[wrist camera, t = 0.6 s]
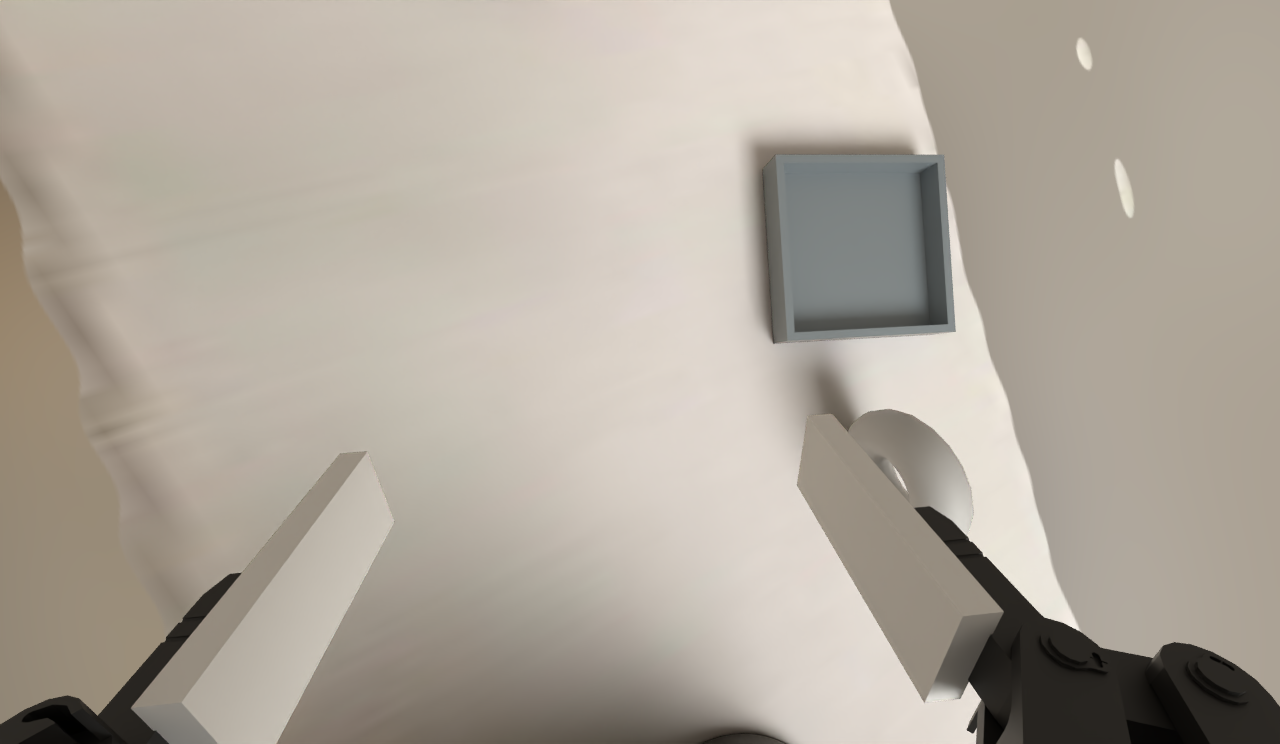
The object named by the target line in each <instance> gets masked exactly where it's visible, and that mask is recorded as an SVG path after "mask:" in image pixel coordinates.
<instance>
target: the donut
mask: <svg viewBox="0 0 1280 744" xmlns="http://www.w3.org/2000/svg"><path fill="white" fill-rule="evenodd" d="M848 433H849V434H850V435H851V436H852V437H853V439H854V440H855V441H856V442H857V443H858V444H859V446H860V447H861V448H862V449H863V450H864V451H865V452H866V454H867V455H868V456H869V457H870V458H871V459H872V460H873V462H874V463H875V464H876V465H877V466H878V467H879V469H880V470H881V471H882V472H883V473H884V474H885V475H886V477H887V478H888V479H889V480H890V481H891V482H892V484H893V485H894V486H895V487H896V488H897V489H898V490H899V492H900V493H901V494H902V495H903V496H904V497H905V498H906V500H907V501H908V502H909V503H910V504H911V505H912V507H913V508H916V507H927V506H930V507H932V508H934V509H935V510H937V511H938V512H940V513H941V514H943V515H944V516H946V517H947V518H949V519H950V520H952V521H953V522H954V523H955V524H956V525H957V526H958V527H959V528H960V529H961V531H962V532H963V533H964V534H965V535H966V536H967V534H968V533H969V531H970V527H971V523H972V519H973V515H974V510H973V501H972V492H971V487H970V484H969V482H968V479H967V476H966V474H965V471H964V469H963V466H962V465H961V463H960V462H959V460H958V458H957V457H956V455H955V454H954V452H953V451H952V449H951V448H950V446H949V445H948V444H947V443H946V442H945V441H944V440H943V439H942V438H941V437H940V436H939V435H938V434H937V433H936V432H935V430H934V429H932V428H931V427H929V426H928V425H926V424H925V423H923V422H922V421H920V420H919V419H917V418H916V417H914V416H913V415H910V414H906V413H903V412H900V411H896V410H892V409H885V410H877V411H870V412H867V413H865V414H863V415H862V416H861V417H860V418H858V419H857V420H856V421H855V422H853V424H852V425H851V426H850V428H849V430H848ZM893 466H894V467H895V468H896V470H897V471H898V472H899V474H900V476H901V477H902V479H903V481H904V483H905V486H906V488H907V491H908V492H907V491H906V490H905V489H904V487H903V486H902V484H901V483H900V481H899V479H898V477H897V475H896V472H895V470H894V467H893Z"/></svg>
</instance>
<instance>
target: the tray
mask: <svg viewBox="0 0 1280 744" xmlns="http://www.w3.org/2000/svg"><path fill="white" fill-rule="evenodd" d="M763 184H764V200H765V215H766V231H767V247H768V262H769V278H770V294H771V309H772V325H773V341H774V343H790V342H808V341H826V340H844V339H861V338H879V337H897V336H915V335H932V334H940V333H949V332H956V330H955V315H954V300H953V284H952V269H951V254H950V238H949V223H948V208H947V193H946V177H945V162H944V155H775V156H774V157H773V158H772V159H771V160H770V162H769V163H768V164H767V165H766V166H765V167H764V168H763Z"/></svg>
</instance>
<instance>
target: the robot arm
mask: <svg viewBox="0 0 1280 744" xmlns="http://www.w3.org/2000/svg"><path fill="white" fill-rule="evenodd" d="M797 486H798V488H799V490H800V491H801V493H802V495H803V496H804V498H805V500H806V501H807V503H808V505H809V507H810V508H811V510H812V512H813V513H814V515H815V517H816V519H817V520H818V522H819V524H820V525H821V527H822V529H823V531H824V532H825V534H826V536H827V537H828V539H829V541H830V542H831V544H832V546H833V548H834V549H835V551H836V553H837V554H838V556H839V558H840V560H841V561H842V563H843V565H844V566H845V568H846V570H847V571H848V573H849V575H850V577H851V578H852V580H853V582H854V583H855V585H856V587H857V589H858V590H859V592H860V594H861V595H862V597H863V599H864V601H865V602H866V604H867V606H868V607H869V609H870V611H871V612H872V614H873V616H874V618H875V619H876V621H877V623H878V624H879V626H880V628H881V630H882V631H883V633H884V635H885V636H886V638H887V640H888V641H889V643H890V645H891V647H892V648H893V650H894V652H895V653H896V655H897V657H898V659H899V660H900V662H901V664H902V665H903V667H904V669H905V671H906V672H907V674H908V676H909V677H910V679H911V681H912V682H913V684H914V686H915V688H916V689H917V691H918V693H919V694H920V696H921V698H922V700H923V701H924V703H929V702H937V701H946V700H954V699H960V698H961V696H962V694H963V692H964V690H965V688H966V686H967V684H968V682H970V684H971V685H972V686H973V688H974V689H975V691H976V692H977V694H978V695H979V697H980V698H981V699H982V700H981V702H980V703H979V705H978V707H977V709H976V711H975V713H974V715H973V716H972V718H971V720H970V722H969V725H968V728H967V731H969V732H971V733H974V732H975V730H976V728H977V738H976V744H1280V706H1279V705H1278V704H1277V703H1276V701H1275V700H1274V699H1273V697H1272V696H1271V695H1270V694H1269V693H1268V692H1267V691H1266V690H1265V689H1264V688H1263V687H1262V686H1261V685H1260V684H1259V682H1258V681H1257V680H1255V679H1254V678H1253V677H1252V676H1250V675H1249V674H1247V673H1246V672H1245V671H1243V670H1242V669H1241V668H1239V667H1238V666H1236V665H1235V664H1233V663H1232V662H1230V661H1228V660H1226V659H1224V658H1222V657H1221V656H1219V655H1217V654H1215V653H1213V652H1211V651H1208V650H1205V649H1202V648H1200V647H1197V646H1194V645H1191V644H1183V643H1176V642H1174V643H1171V644H1167V645H1164V646H1163V647H1162V648H1161V649H1160V650H1159V652H1158V653H1157V654H1156V655H1155V657H1154V658H1150V657H1145V656H1140V655H1134V654H1129V653H1124V652H1118V651H1114V650H1109V649H1103V648H1100V647H1099V646H1098V645H1097V644H1096V643H1094V642H1093V641H1092V640H1090V639H1089V638H1088V637H1086V636H1085V635H1084V634H1083V633H1081V632H1080V631H1078V630H1076V629H1074V628H1072V627H1070V626H1068V625H1066V624H1064V623H1061V622H1058V621H1054V620H1051V619H1047V618H1044V617H1043V616H1042V615H1041V614H1040V613H1039V612H1038V611H1037V610H1036V609H1035V608H1034V607H1033V606H1032V605H1031V604H1030V603H1029V602H1028V601H1027V600H1026V599H1025V597H1024V596H1023V595H1022V594H1021V593H1020V592H1019V591H1018V590H1017V589H1016V588H1015V587H1014V586H1013V585H1012V584H1011V583H1010V582H1009V580H1008V579H1007V578H1006V577H1005V576H1004V575H1003V574H1002V573H1001V572H1000V571H999V570H998V569H997V568H996V567H995V566H994V565H993V563H992V562H991V561H990V560H989V559H988V558H987V557H984V556H983V553H982V552H981V551H980V550H979V549H978V548H977V546H976V545H975V544H974V543H973V542H970V541H969V538H968V537H967V536H966V535H965V534H964V533H963V532H962V531H961V529H960V528H959V527H958V526H957V525H956V524H955V523H954V522H953V521H952V520H950V519H949V518H947V517H946V516H944V515H943V514H941V513H940V512H938V511H937V510H935V509H934V508H932V507H930V506H927V507H916V508H913V507H912V505H911V504H910V503H909V502H908V501H907V500H906V498H905V497H904V496H903V495H902V494H901V493H900V492H899V490H898V489H897V488H896V487H895V486H894V485H893V484H892V482H891V481H890V480H889V479H888V478H887V477H886V475H885V474H884V473H883V472H882V471H881V470H880V469H879V467H878V466H877V465H876V464H875V463H874V462H873V460H872V459H871V458H870V457H869V456H868V455H867V454H866V452H865V451H864V450H863V449H862V448H861V447H860V446H859V444H858V443H857V442H856V441H855V440H854V439H853V437H852V436H851V435H850V434H849V433H848V432H847V431H846V429H845V428H844V427H843V426H842V425H841V424H840V423H839V421H838V420H837V419H836V418H835V417H834V416H833V414H821V415H809V416H807V423H806V429H805V436H804V442H803V449H802V455H801V462H800V469H799V475H798V482H797ZM394 522H395V521H394V519H393V516H392V514H391V511H390V508H389V506H388V503H387V501H386V498H385V495H384V493H383V490H382V488H381V485H380V482H379V480H378V477H377V475H376V472H375V469H374V467H373V464H372V462H371V459H370V456H369V454H368V451H366V452H354V453H342V454H340V455H339V456H338V457H337V458H336V459H335V461H334V462H333V463H332V464H331V465H330V467H329V468H328V469H327V470H326V472H325V473H324V474H323V475H322V476H321V478H320V479H319V480H318V481H317V482H316V484H315V485H314V486H313V487H312V489H311V490H310V491H309V492H308V493H307V495H306V496H305V497H304V498H303V499H302V501H301V502H300V503H299V504H298V506H297V507H296V508H295V509H294V510H293V512H292V513H291V514H290V515H289V516H288V518H287V519H286V520H285V521H284V523H283V524H282V525H281V526H280V527H279V529H278V530H277V531H276V532H275V533H274V535H273V536H272V537H271V538H270V540H269V541H268V542H267V543H266V544H265V546H264V547H263V548H262V549H261V550H260V552H259V553H258V554H257V555H256V556H255V558H254V559H253V560H252V561H251V563H250V564H249V565H248V566H247V567H246V569H245V570H244V571H243V572H242V573H235V574H229V575H228V576H227V577H225V578H224V579H223V580H222V581H220V582H219V583H218V584H216V585H215V586H214V587H213V588H211V589H210V590H209V591H207V592H206V593H205V594H204V595H203V596H202V597H201V598H200V599H199V600H198V601H197V602H196V604H195V605H194V606H193V607H192V608H191V609H190V610H189V612H188V613H187V614H186V615H185V616H184V617H183V621H182V622H181V623H178V624H177V625H176V627H175V628H174V629H173V630H172V631H171V632H170V633H169V635H168V636H167V637H166V641H165V642H164V643H161V644H160V645H159V646H158V647H157V648H156V650H155V651H154V652H153V653H152V654H151V655H150V657H149V658H148V659H147V660H146V661H145V662H144V663H143V664H142V666H141V667H140V668H139V669H138V670H137V672H136V673H135V674H134V675H133V676H132V677H131V678H130V679H129V681H128V682H127V683H126V684H125V686H123V687H122V689H121V690H120V691H119V692H118V693H117V694H116V696H115V697H114V698H113V699H112V700H111V701H110V702H109V704H108V705H107V706H106V707H105V708H104V709H103V710H102V712H101V713H100V714H99V715H98V716H97V715H96V714H95V713H94V712H93V711H92V710H91V709H90V708H89V707H88V706H86V704H84V703H83V702H82V701H81V700H80V699H79V698H75V697H71V696H63V697H58V698H53V699H48V700H46V701H44V702H41V703H39V704H37V705H34V706H32V707H30V708H27V709H25V710H23V711H22V712H20V713H18V714H17V715H15V716H14V717H12V718H10V719H9V720H7V721H5V722H4V723H2V724H0V744H276V743H277V742H278V740H279V738H280V736H281V734H282V732H283V730H284V728H285V727H286V725H287V723H288V721H289V719H290V717H291V715H292V713H293V711H294V710H295V708H296V706H297V704H298V702H299V700H300V698H301V696H302V695H303V693H304V691H305V689H306V687H307V685H308V683H309V681H310V680H311V678H312V676H313V674H314V672H315V670H316V668H317V666H318V665H319V663H320V661H321V659H322V657H323V655H324V653H325V651H326V650H327V648H328V646H329V644H330V642H331V640H332V638H333V636H334V634H335V633H336V631H337V629H338V627H339V625H340V623H341V621H342V619H343V618H344V616H345V614H346V612H347V610H348V608H349V606H350V604H351V603H352V601H353V599H354V597H355V595H356V593H357V591H358V589H359V588H360V586H361V584H362V582H363V580H364V578H365V576H366V574H367V573H368V571H369V569H370V567H371V565H372V563H373V561H374V559H375V557H376V556H377V554H378V552H379V550H380V548H381V546H382V544H383V542H384V541H385V539H386V537H387V535H388V533H389V531H390V529H391V527H392V526H393V524H394ZM703 744H784V743H782V742H780V741H778V740H775V739H773V738H770V737H766V736H762V735H756V734H733V735H727V736H722V737H719V738H715V739H713V740H710V741H707V742H705V743H703Z"/></svg>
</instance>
